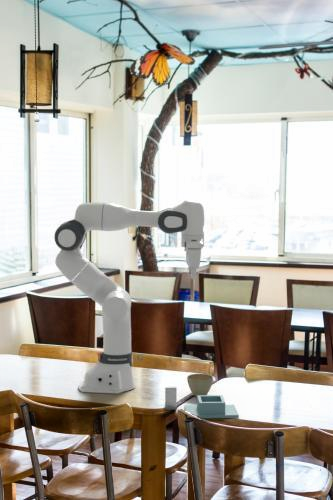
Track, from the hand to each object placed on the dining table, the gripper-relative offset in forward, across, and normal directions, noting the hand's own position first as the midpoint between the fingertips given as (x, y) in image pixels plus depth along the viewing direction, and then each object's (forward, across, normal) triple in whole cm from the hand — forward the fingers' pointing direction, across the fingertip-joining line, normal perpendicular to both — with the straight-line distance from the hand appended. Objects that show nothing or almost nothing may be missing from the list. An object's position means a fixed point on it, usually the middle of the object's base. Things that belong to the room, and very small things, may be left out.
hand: (192, 277), depth 278 cm
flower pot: (+45, +9, +3) cm, 46 cm away
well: (+44, +31, +5) cm, 54 cm away
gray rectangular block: (+45, +24, -9) cm, 52 cm away
